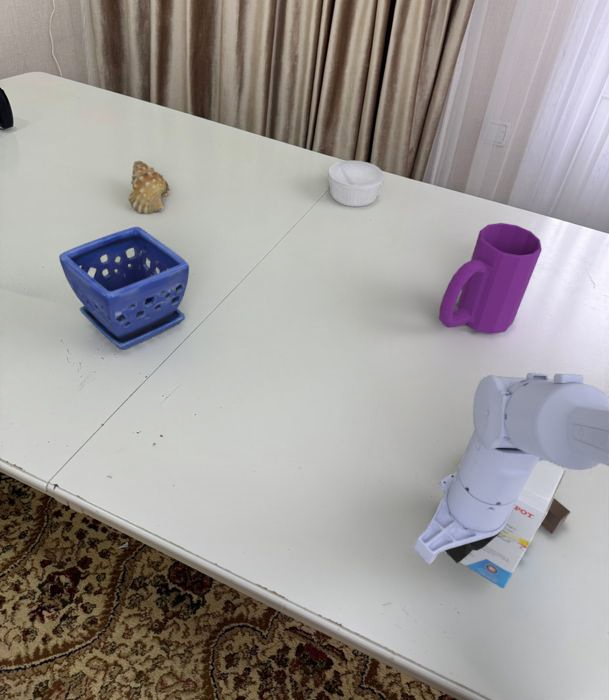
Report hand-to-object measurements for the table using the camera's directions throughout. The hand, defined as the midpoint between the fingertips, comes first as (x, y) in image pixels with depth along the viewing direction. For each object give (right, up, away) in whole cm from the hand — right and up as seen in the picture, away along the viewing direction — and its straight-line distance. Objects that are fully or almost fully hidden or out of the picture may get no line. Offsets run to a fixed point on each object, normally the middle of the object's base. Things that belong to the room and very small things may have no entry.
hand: (453, 552), depth 66 cm
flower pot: (-42, +25, +28) cm, 56 cm away
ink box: (+4, 0, +4) cm, 5 cm away
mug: (+11, +26, +34) cm, 44 cm away
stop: (+10, +4, +10) cm, 15 cm away
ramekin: (-6, +53, +62) cm, 82 cm away
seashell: (-46, +51, +55) cm, 88 cm away
